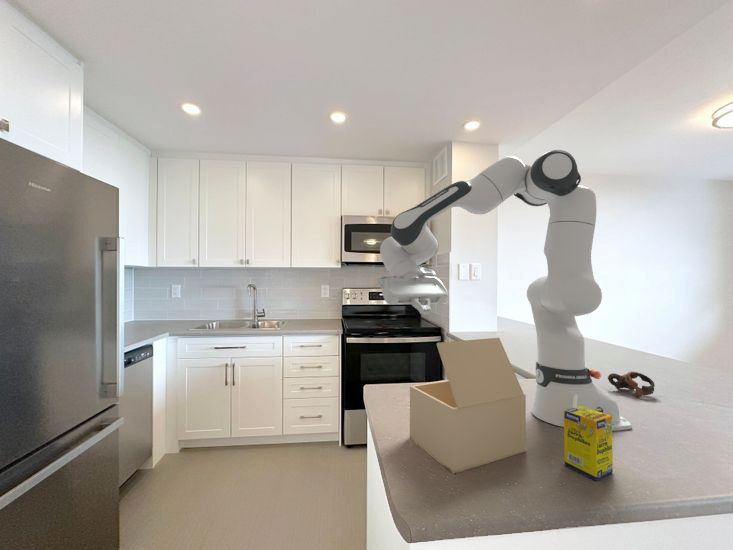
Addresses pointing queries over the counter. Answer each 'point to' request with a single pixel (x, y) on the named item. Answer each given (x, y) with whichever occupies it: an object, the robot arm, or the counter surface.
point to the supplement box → (588, 442)
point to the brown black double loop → (632, 383)
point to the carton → (465, 427)
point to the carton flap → (478, 371)
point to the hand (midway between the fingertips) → (426, 312)
